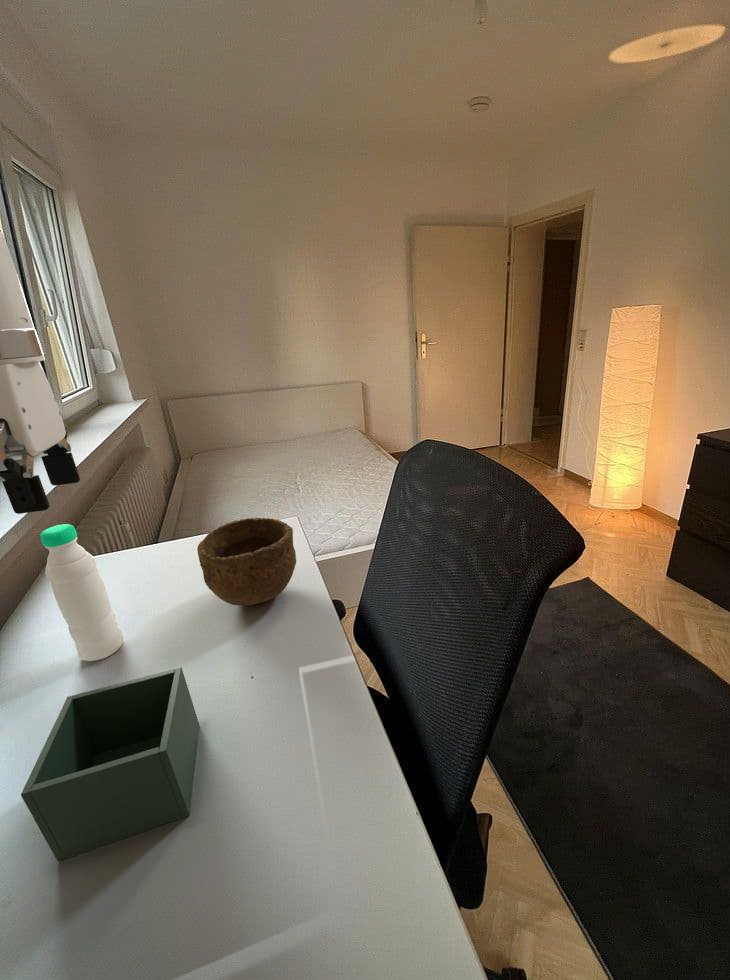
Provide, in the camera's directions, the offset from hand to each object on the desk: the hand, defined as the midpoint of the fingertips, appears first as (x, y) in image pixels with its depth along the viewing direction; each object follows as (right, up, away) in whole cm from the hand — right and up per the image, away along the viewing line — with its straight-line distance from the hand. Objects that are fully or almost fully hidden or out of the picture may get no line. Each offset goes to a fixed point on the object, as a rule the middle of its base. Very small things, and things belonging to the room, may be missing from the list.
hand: (51, 496), depth 54 cm
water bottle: (-13, -29, +28) cm, 42 cm away
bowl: (+12, -22, +41) cm, 48 cm away
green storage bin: (+9, -37, +3) cm, 38 cm away
